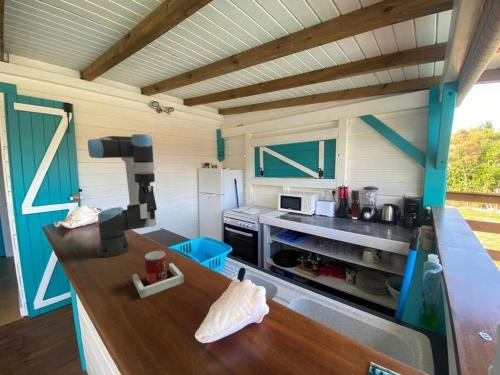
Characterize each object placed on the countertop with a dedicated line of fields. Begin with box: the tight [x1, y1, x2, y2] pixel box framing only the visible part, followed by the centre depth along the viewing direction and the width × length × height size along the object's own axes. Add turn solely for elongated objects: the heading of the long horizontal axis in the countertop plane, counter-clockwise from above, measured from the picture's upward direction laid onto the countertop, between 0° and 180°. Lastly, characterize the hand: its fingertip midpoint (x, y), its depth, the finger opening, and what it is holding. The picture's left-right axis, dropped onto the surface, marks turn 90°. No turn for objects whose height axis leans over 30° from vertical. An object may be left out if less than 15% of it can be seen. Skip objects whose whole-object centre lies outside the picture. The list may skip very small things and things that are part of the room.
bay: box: [132, 262, 185, 299], centre depth 88 cm, size 14×16×3 cm
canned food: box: [144, 250, 168, 285], centre depth 89 cm, size 8×8×11 cm
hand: (148, 222), depth 93 cm, fingers open, 13 cm apart
